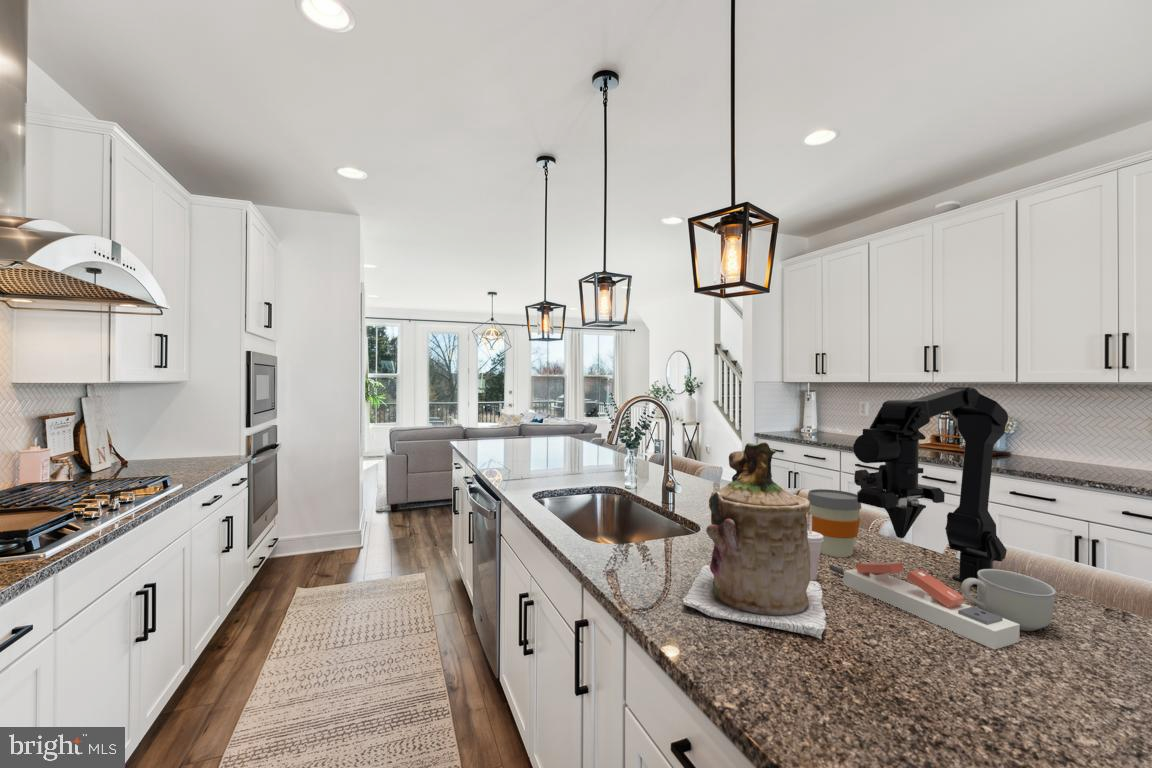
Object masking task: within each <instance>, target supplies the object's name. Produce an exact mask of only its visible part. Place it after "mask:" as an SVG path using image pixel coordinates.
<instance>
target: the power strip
mask: <svg viewBox="0 0 1152 768" xmlns="http://www.w3.org/2000/svg"><path fill="white" fill-rule="evenodd" d="M829 570H830V571H832V572H834V573H836V574H839V575H841V576H843V585H844V586H845V587H848V588H850V589H852V590H855V591H858V592H859V593H861V594H864V595H867V596H868V595H869V597H872V598H873V599H875V598H876V600H878V599H879V600H878V601H880V600H881V602H882V601H883V602H882V603H885V602H886V603H885V604H887V603H888V604H887V605H889V604H891V605H890V606H892V605H893V606H892V607H894V606H895V608H896V607H898V608H897V609H899V608H900V609H899V610H901V609H902V610H901V611H903V610H905V611H904V612H906V611H907V612H906V613H908V612H910V613H912V614H911V615H913V614H914V615H913V616H915V615H916V616H915V617H917V616H918V617H917V618H920V619H923V620H924V619H925V621H926V622H929V623H931V624H933V625H936V626H938V625H939V627H940V626H941V628H944V629H945V628H946V630H947V629H948V630H947V631H950V632H952V631H953V632H952V633H954V634H957V635H959V636H961V637H965V638H966V639H969V640H970V641H974V642H976V643H978V644H980V645H983V646H985V647H987V648H989V649H992V650H994V651H995V650H998V649H1001V648H1006V647H1008V646H1011V645H1014V644H1017V643H1020V634H1021V633H1020V631H1021V630H1020V624H1018V623H1015V622H1012V621H1009V620H1007V619H1004V618H1003V617H1000V616H998V615H995V614H992V613H990V612H987V611H984V610H982V609H979V608H978V607H977V606H972V605H969V604H967V603H962V605H959V606H955V607H951V608H948V607H947V606H945V605H944V604H942V603H941V602H940V601H938V600H937V599H935V598H934V597H932V596H931V595H930V594H928V593H927V592H925V591H924V590H922V589H921V588H919V587H918V586H917V585H915V584H914V583H912V582H911V583H910V582H907V581H906V580H905V581H904V580H902V579H900V578H897V577H895V576H892V575H889V573H868V572H857V568H853V569H852V568H851V569H846V570H845V569H843V568H841V567H838V566H836V565H833V564H831V565H830V566H829ZM910 613H909V614H910Z"/></svg>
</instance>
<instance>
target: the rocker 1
mask: <svg viewBox="0 0 1152 768" xmlns="http://www.w3.org/2000/svg"><path fill="white" fill-rule="evenodd" d="M855 569H857V572H868V573H888V574H895V573H902V572H905V569H904V565H903V563H902V562H886V561H885V562H883V561H882V562H881V561H880V562H877V561H873V562H872V561H869V562H867V561H866V562H860V563H856V564H855Z"/></svg>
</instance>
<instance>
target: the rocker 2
mask: <svg viewBox="0 0 1152 768" xmlns="http://www.w3.org/2000/svg"><path fill="white" fill-rule="evenodd" d="M906 579H907V580H908V581H910V582H911V584H913V585H916V586H918V587H919V588H921V589H922V590H924V591H925V592H927V593H928V594H930V595H931V596H932V597H934V598H935V599H937V600H938V601H940V602H941V603H942V604H944V605H945V606H947V607H948V608H951V607H955V606H959V605H962V603H963V602H964V601H965V596H963V595H961V594H959V593H958V592H957V591H956V590H953V589H952V588H950V587H949V586H947V585H946V584H944V583H943V582H942V581H940V580H938V579H937V578H935V577H934V576H933V575H931V574H929V573H928V572H926V571H925V570H924V569H916V570H910V571H909V572H908V575H907V578H906Z"/></svg>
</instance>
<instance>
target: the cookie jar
mask: <svg viewBox="0 0 1152 768" xmlns="http://www.w3.org/2000/svg"><path fill="white" fill-rule="evenodd" d="M776 453H777V451H776V449H773V448H771V447H770V446H769V443H768V442H766V441H762V442H760V443H758V444H756V443H755V444H754V443H750V442H748V443H746V445H745V447H744V450H739V451H732V452H730V453H729V456H728V465H729V467H730V468H731V469H732V470H735V472H736V473H735V474H733V476H732V477H731V482H729V483H728V484H726V485H725V486H724V487H722V488H720V489H719V490H718V489H717V490H715V491H712V492H711V495H710V496H709V500H708V508H709V511H710V514H711V515H710V521H711V522H710V523H711V524H710V525H707V526H706V529H705V530H706V535H707V536H708V537H709V538H710V539H711V540H712V542H713V549H712V554H711V561H710V564H709V565H707V564H703V566H701V568H700V571H699V574H698V576H696V577H695V578H694V579H693V583H692V584H691V588H689V590H688V593H687V595H686V596H684V598H683V600H682V603H683V606H687V607H690V608H693V609H695V610H697V611H699V612H701V613H703V614H705V615H707V616H709V617H712V618H717V619H725V620H730V621H735V622H740V623H746V624H750V625H756V626H760V627H768V628H773V629H778V630H781V631H782V630H783V631H787V632H791V633H797V634H801V635H807V636H810V637H813V638H817V639H819V640H820V641H821V640H822V639H823V638H822V637H823V636H822V634H823V632H824V631H825V630H826V625H827V621H826V618H827V615H826V611H825V609H824V605H823V598H824V597H823V595H824V594H823V591H824V590H823V589H822V586H821V583H819V582H818V581H816V580H810V566H811V565H810V546H809V543H808V532H807V530H808V519H807V514H808V512H809V511H810V510H809V509H810V501H809V500H808V498H805V497H804V496H803V497H802V496H799V495H797V494H794V493H789V492H788V491H786V490H784V489H783V488H782V487H781V486H780V485H778V484H777V483H776V482H775V481H774V480H773V479H772V478H773V475H772V459H773V455H774V454H776Z"/></svg>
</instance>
